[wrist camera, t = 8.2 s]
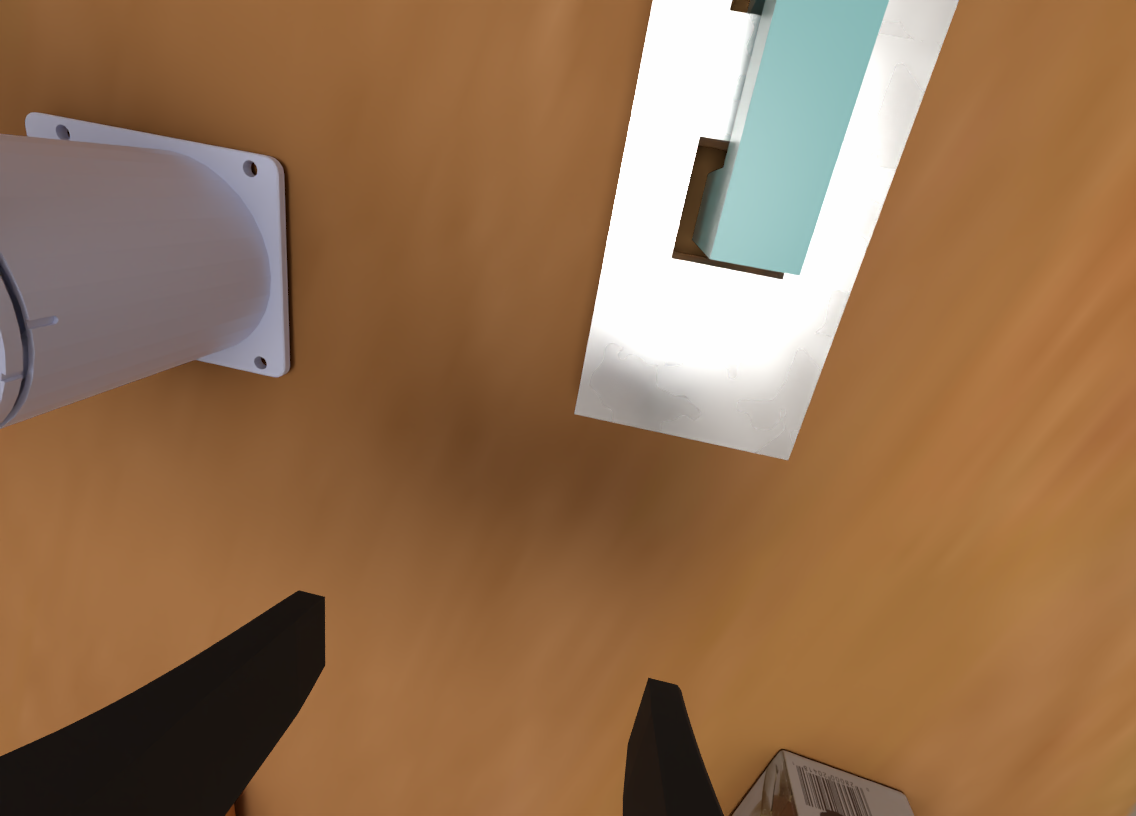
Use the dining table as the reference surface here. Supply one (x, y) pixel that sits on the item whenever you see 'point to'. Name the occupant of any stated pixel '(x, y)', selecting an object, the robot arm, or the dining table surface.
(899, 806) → the coffee box
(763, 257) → the teal rectangular plank
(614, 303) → the white slotted slab
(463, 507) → the dining table surface
